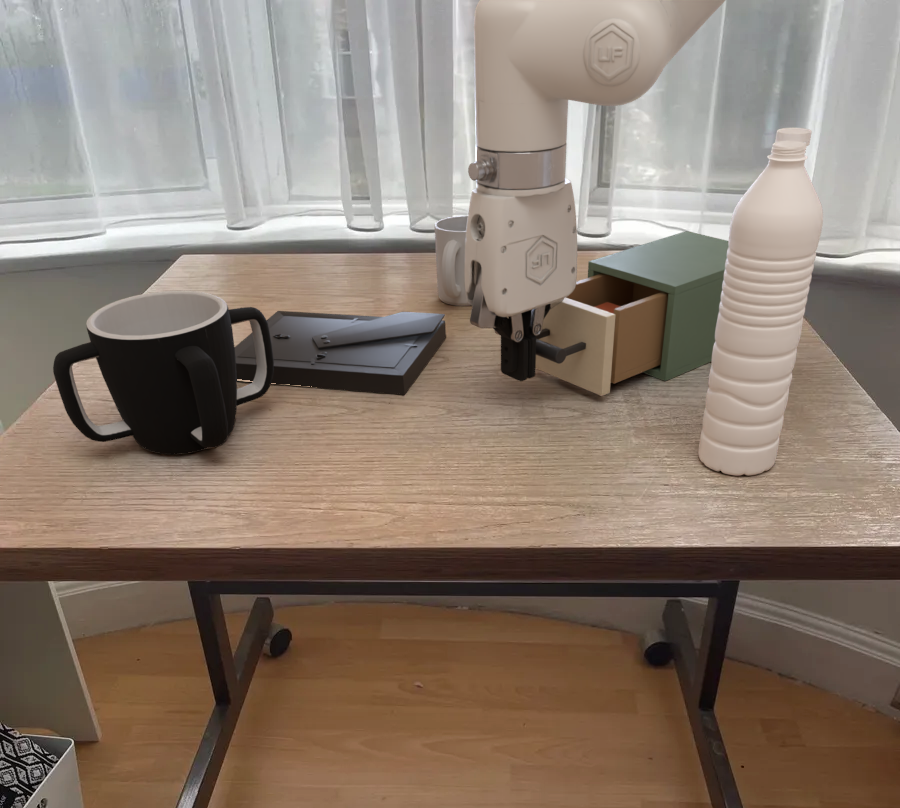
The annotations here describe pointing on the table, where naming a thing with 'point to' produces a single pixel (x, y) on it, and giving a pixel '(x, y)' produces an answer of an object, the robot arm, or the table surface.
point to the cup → (451, 259)
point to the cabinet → (677, 293)
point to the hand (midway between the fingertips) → (517, 374)
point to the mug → (167, 369)
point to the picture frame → (347, 350)
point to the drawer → (603, 333)
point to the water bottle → (761, 311)
